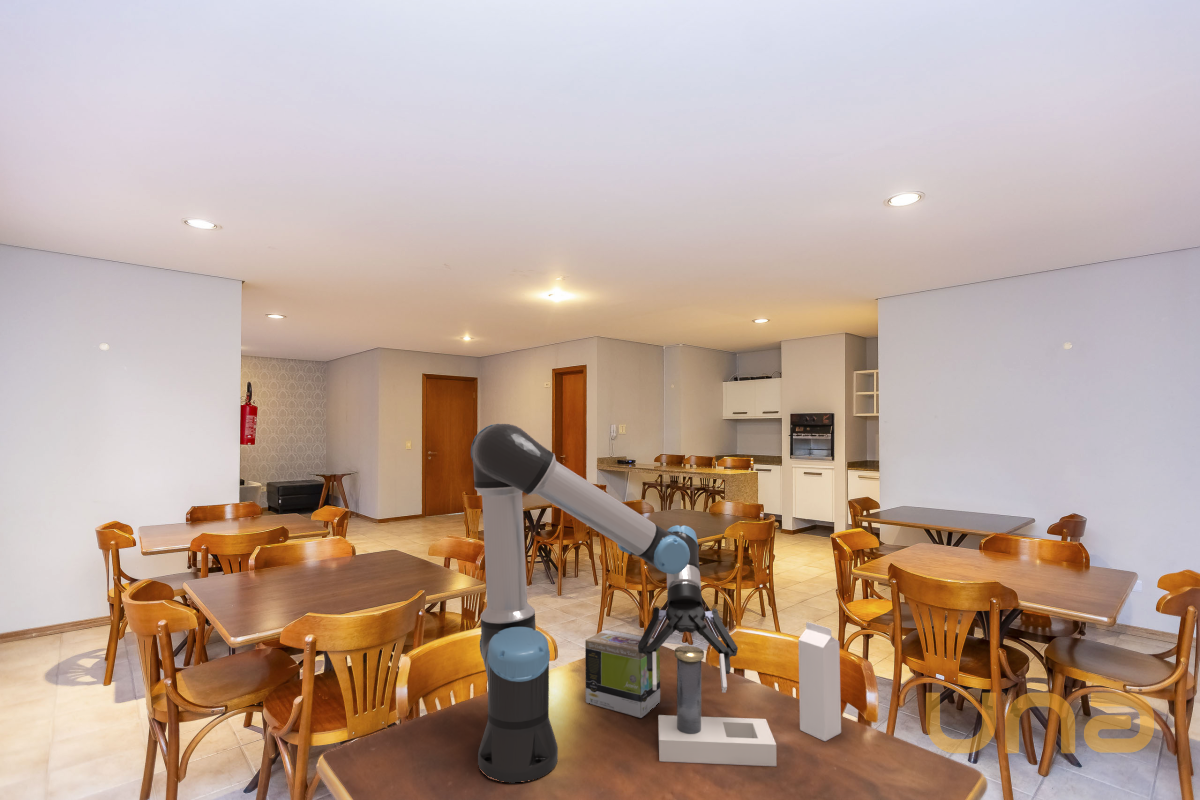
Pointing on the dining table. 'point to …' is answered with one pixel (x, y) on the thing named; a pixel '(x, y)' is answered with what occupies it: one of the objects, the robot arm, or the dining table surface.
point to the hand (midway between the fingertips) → (689, 688)
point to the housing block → (718, 742)
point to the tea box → (620, 673)
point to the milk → (819, 682)
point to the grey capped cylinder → (689, 688)
